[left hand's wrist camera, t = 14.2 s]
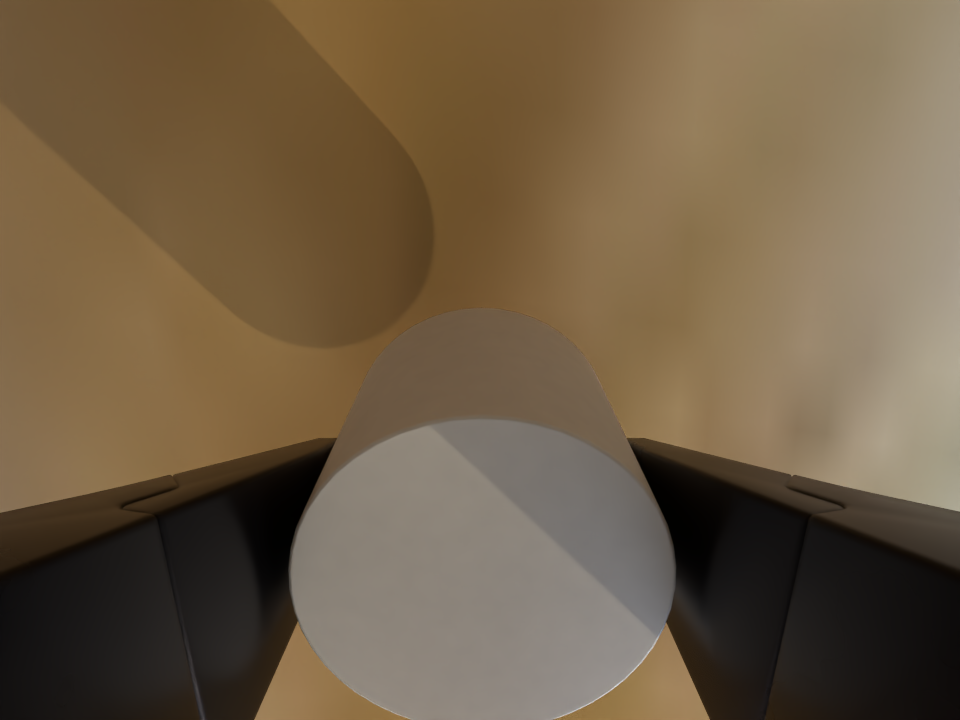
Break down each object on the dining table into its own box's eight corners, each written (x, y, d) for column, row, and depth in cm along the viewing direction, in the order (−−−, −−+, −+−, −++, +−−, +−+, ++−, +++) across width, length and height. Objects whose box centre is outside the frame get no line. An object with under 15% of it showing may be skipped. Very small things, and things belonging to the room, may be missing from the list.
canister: (331, 325, 12) (241, 444, 7) (597, 290, 11) (671, 390, 7) (382, 546, 13) (334, 748, 9) (614, 518, 13) (682, 713, 9)
